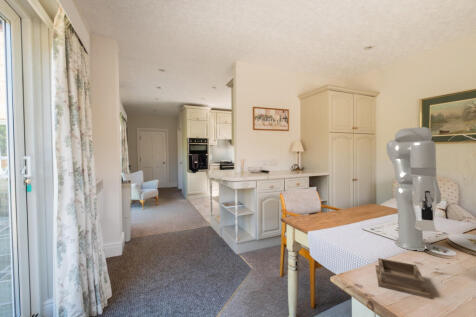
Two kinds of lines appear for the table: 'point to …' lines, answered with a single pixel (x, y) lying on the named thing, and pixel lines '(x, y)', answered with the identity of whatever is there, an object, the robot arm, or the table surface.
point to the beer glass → (420, 223)
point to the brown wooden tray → (401, 277)
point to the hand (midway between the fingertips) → (424, 216)
